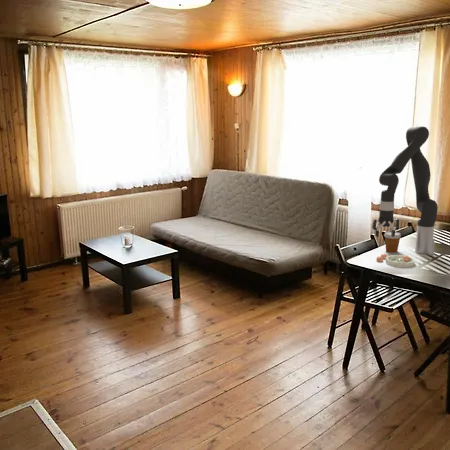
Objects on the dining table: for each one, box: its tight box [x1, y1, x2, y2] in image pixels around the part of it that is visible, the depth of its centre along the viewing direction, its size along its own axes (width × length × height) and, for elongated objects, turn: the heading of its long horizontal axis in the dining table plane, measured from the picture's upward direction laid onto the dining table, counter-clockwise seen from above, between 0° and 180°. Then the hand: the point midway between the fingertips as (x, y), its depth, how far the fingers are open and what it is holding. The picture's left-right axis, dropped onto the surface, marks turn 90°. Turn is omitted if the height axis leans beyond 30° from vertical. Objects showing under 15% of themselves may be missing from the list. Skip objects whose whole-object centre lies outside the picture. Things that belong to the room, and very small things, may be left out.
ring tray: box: [385, 254, 415, 268], centre depth 261 cm, size 15×15×3 cm
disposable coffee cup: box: [383, 231, 402, 254], centre depth 282 cm, size 10×10×12 cm
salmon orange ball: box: [403, 255, 410, 262], centre depth 262 cm, size 4×4×4 cm
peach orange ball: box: [375, 255, 384, 263], centre depth 265 cm, size 4×4×4 cm
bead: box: [380, 253, 388, 260], centre depth 270 cm, size 4×4×4 cm
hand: (384, 236), depth 267 cm, fingers open, 8 cm apart
